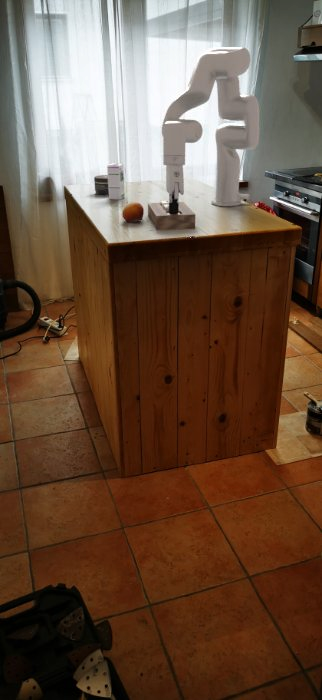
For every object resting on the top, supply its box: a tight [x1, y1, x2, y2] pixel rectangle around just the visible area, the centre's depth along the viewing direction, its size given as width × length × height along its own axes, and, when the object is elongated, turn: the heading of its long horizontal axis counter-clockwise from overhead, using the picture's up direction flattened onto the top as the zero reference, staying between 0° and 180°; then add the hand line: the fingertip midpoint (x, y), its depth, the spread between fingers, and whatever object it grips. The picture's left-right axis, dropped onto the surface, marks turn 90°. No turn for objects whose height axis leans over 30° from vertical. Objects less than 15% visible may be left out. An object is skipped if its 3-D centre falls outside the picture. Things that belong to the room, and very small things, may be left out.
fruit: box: [122, 202, 145, 223], centre depth 209 cm, size 8×8×8 cm
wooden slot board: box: [147, 201, 196, 231], centre depth 208 cm, size 14×22×5 cm, turn 9°
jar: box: [93, 174, 109, 196], centre depth 257 cm, size 10×10×8 cm
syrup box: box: [106, 162, 125, 200], centre depth 246 cm, size 6×6×14 cm
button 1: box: [160, 200, 169, 206], centre depth 213 cm, size 4×4×2 cm
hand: (173, 213), depth 200 cm, fingers closed
